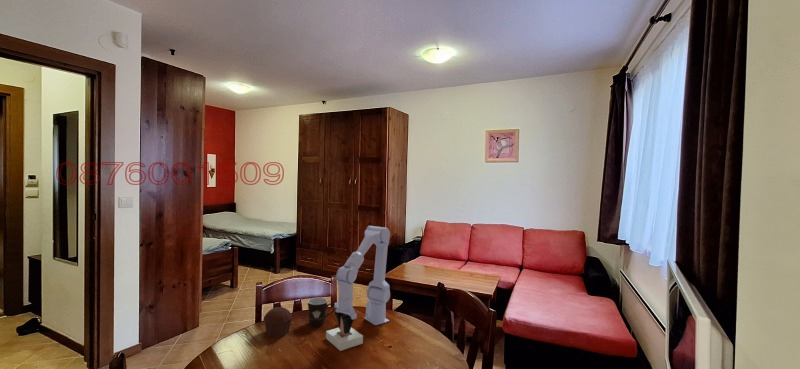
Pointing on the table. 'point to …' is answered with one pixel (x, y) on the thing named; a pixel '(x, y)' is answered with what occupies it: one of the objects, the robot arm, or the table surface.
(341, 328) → the dowel
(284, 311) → the muffin
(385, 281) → the robot arm
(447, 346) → the table surface
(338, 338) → the socket block
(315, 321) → the coffee mug
